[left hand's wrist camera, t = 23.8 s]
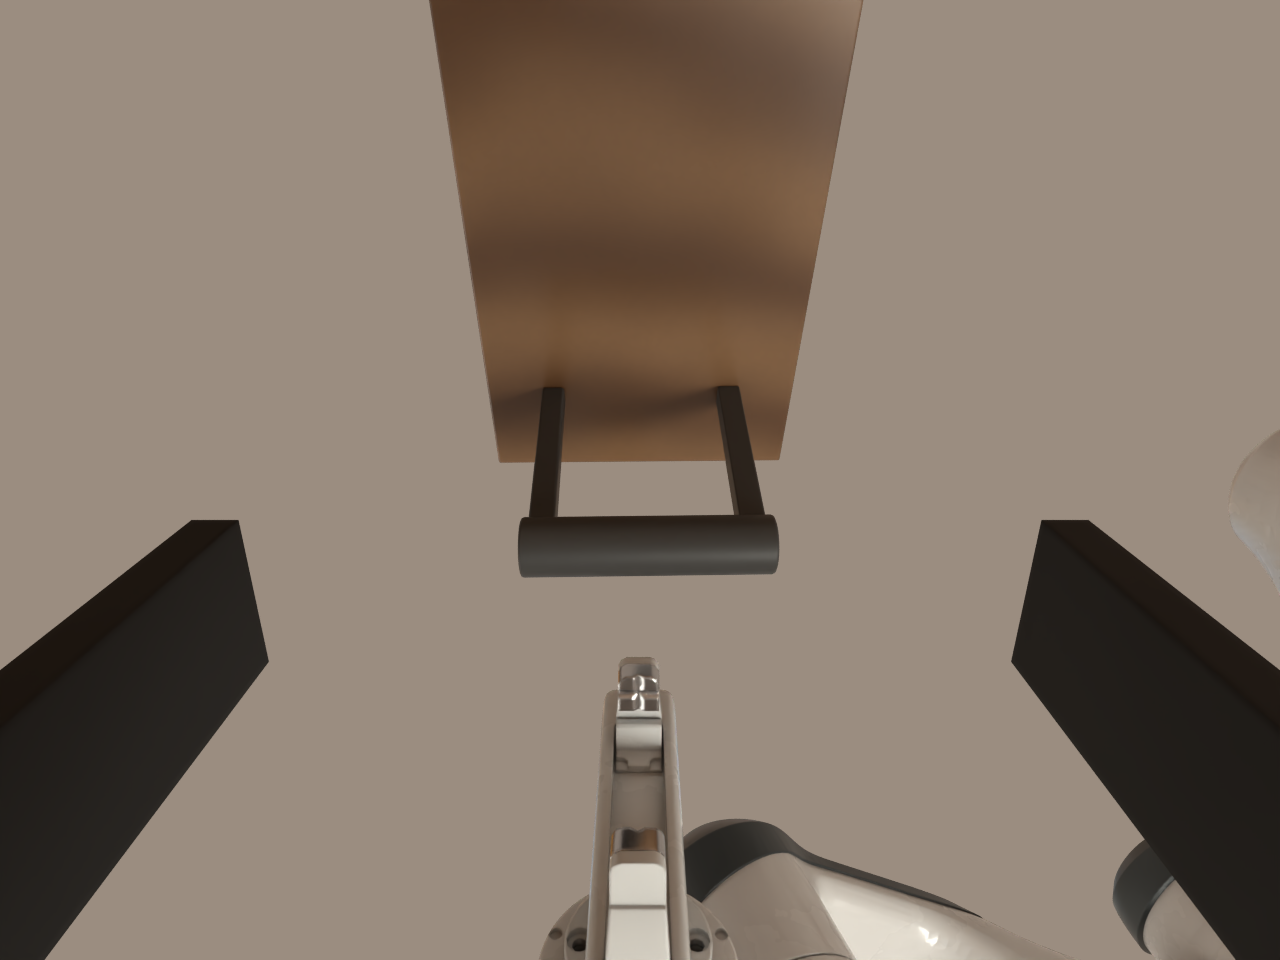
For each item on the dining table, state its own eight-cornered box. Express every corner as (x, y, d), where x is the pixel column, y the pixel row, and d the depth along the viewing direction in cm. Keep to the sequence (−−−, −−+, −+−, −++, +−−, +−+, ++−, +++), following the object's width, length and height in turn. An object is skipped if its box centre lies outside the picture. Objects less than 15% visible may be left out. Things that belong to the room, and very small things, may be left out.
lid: (774, 440, 28) (820, 633, 22) (502, 443, 28) (471, 638, 22) (857, -37, 18) (983, 74, 12) (432, -40, 18) (339, 71, 12)
